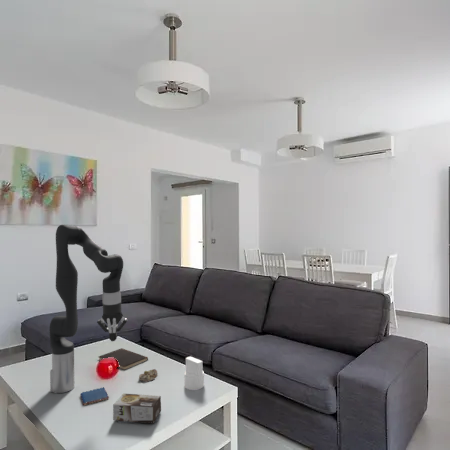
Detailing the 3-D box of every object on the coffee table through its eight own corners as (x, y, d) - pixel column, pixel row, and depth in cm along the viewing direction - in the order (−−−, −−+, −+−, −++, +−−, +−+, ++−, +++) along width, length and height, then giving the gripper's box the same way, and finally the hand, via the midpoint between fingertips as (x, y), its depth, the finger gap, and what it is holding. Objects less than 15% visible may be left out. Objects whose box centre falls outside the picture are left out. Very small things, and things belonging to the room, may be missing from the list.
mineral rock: (147, 379, 160) (136, 371, 164) (145, 387, 161) (134, 379, 165) (163, 371, 169) (152, 364, 173) (161, 379, 170) (150, 371, 174)
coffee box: (112, 421, 129) (153, 424, 127) (112, 404, 129) (153, 407, 127) (123, 408, 138) (161, 411, 136) (123, 392, 138) (161, 395, 136)
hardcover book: (124, 371, 176) (124, 366, 176) (98, 360, 189) (98, 356, 189) (148, 360, 188) (148, 356, 188) (122, 351, 202) (122, 347, 202)
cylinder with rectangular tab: (180, 385, 158) (180, 360, 158) (194, 379, 165) (194, 354, 165) (193, 392, 152) (193, 365, 152) (207, 385, 159) (207, 359, 159)
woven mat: (109, 400, 146) (109, 395, 146) (83, 407, 141) (83, 402, 141) (105, 390, 155) (105, 385, 155) (80, 396, 150) (79, 391, 150)
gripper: (93, 304, 141) (95, 344, 142) (125, 303, 142) (127, 343, 143) (98, 299, 148) (100, 337, 150) (129, 298, 149) (130, 336, 151)
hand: (113, 340), depth 147 cm, fingers closed
